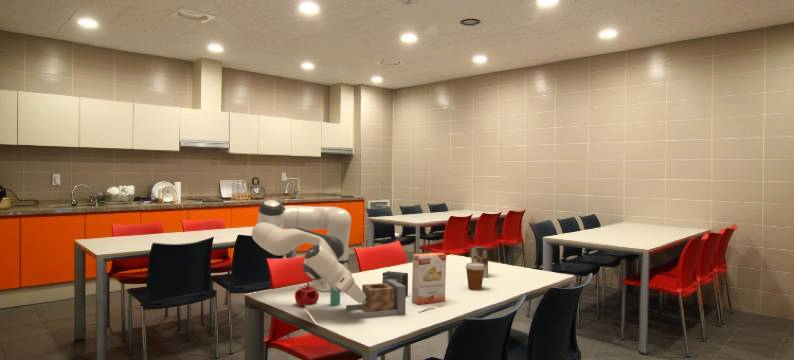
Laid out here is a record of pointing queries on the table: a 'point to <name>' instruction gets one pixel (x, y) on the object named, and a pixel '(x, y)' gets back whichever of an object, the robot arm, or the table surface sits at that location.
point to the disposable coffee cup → (475, 275)
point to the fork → (434, 306)
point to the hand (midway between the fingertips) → (364, 302)
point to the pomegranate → (306, 296)
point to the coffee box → (480, 257)
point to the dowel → (334, 297)
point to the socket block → (378, 297)
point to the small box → (397, 278)
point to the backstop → (398, 310)
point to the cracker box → (428, 278)
